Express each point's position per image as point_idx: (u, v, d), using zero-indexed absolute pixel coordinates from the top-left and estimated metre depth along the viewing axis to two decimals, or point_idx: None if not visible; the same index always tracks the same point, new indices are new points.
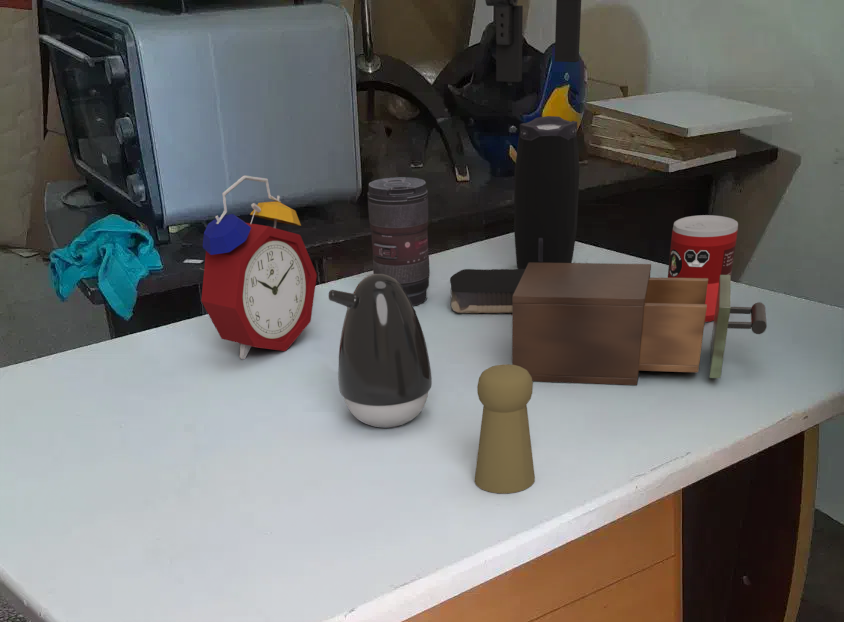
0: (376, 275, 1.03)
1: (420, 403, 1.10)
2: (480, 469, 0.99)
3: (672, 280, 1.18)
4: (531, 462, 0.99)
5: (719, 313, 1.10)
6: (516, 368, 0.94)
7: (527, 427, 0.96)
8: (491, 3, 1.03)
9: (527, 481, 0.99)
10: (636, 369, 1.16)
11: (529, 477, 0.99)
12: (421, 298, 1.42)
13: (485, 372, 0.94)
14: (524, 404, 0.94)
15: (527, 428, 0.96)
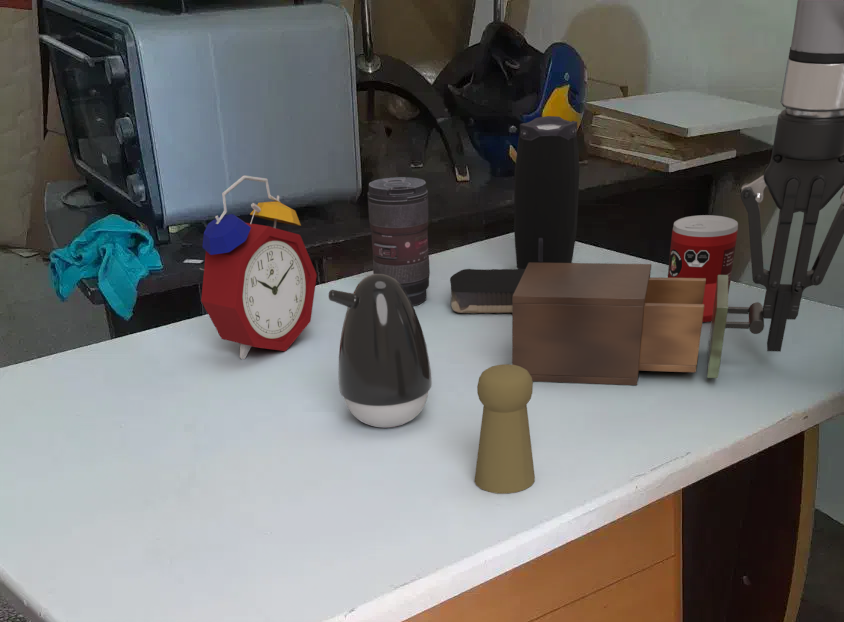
0: (376, 275, 1.03)
1: (420, 403, 1.10)
2: (480, 469, 0.99)
3: (670, 280, 1.18)
4: (531, 462, 0.99)
5: (717, 313, 1.10)
6: (516, 368, 0.94)
7: (527, 427, 0.96)
8: None
9: (527, 481, 0.99)
10: (636, 369, 1.16)
11: (529, 477, 0.99)
12: (421, 298, 1.42)
13: (485, 372, 0.94)
14: (524, 404, 0.94)
15: (527, 428, 0.96)
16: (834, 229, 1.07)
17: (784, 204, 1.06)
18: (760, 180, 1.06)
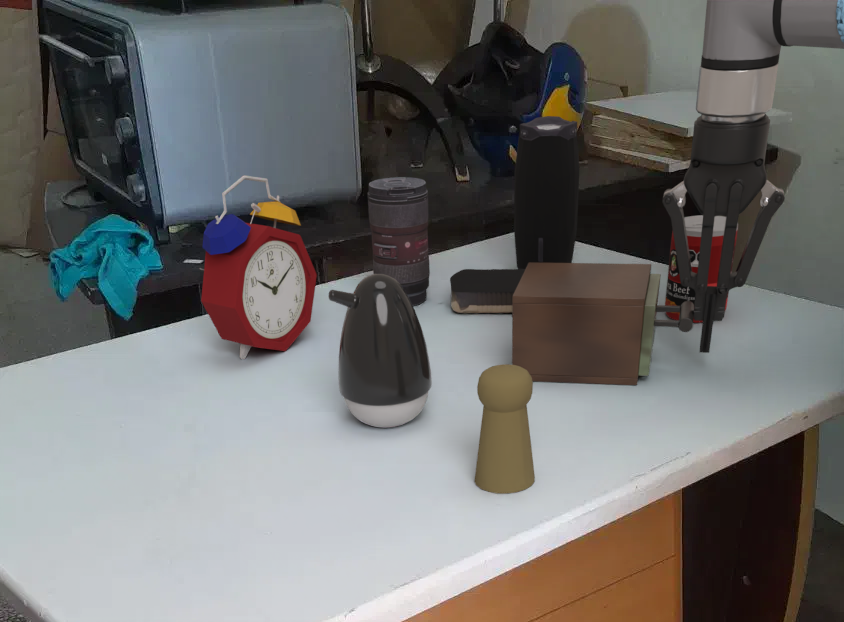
0: (376, 275, 1.03)
1: (420, 403, 1.10)
2: (480, 469, 0.99)
3: None
4: (531, 462, 0.99)
5: (644, 311, 1.12)
6: (516, 368, 0.94)
7: (527, 427, 0.96)
8: None
9: (527, 481, 0.99)
10: (636, 369, 1.16)
11: (529, 477, 0.99)
12: (421, 298, 1.42)
13: (485, 372, 0.94)
14: (524, 404, 0.94)
15: (527, 428, 0.96)
16: (754, 232, 1.09)
17: (705, 208, 1.08)
18: (681, 185, 1.08)
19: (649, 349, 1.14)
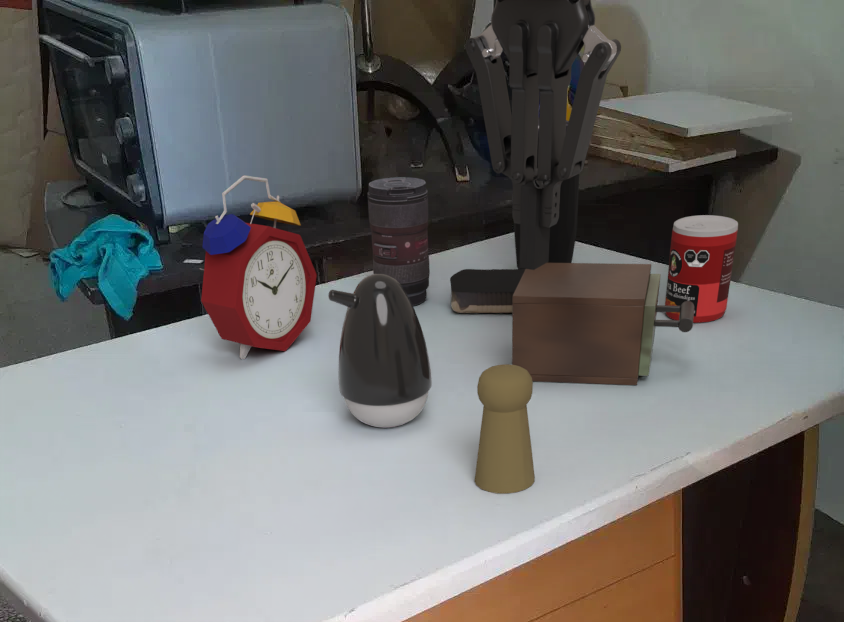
0: (376, 275, 1.03)
1: (420, 403, 1.10)
2: (480, 469, 0.99)
3: None
4: (531, 462, 0.99)
5: (644, 311, 1.12)
6: (516, 368, 0.94)
7: (527, 427, 0.96)
8: None
9: (527, 481, 0.99)
10: (636, 369, 1.16)
11: (529, 477, 0.99)
12: (421, 298, 1.42)
13: (485, 372, 0.94)
14: (524, 404, 0.94)
15: (527, 428, 0.96)
16: (575, 100, 0.80)
17: (511, 60, 0.80)
18: (489, 27, 0.81)
19: (649, 349, 1.14)
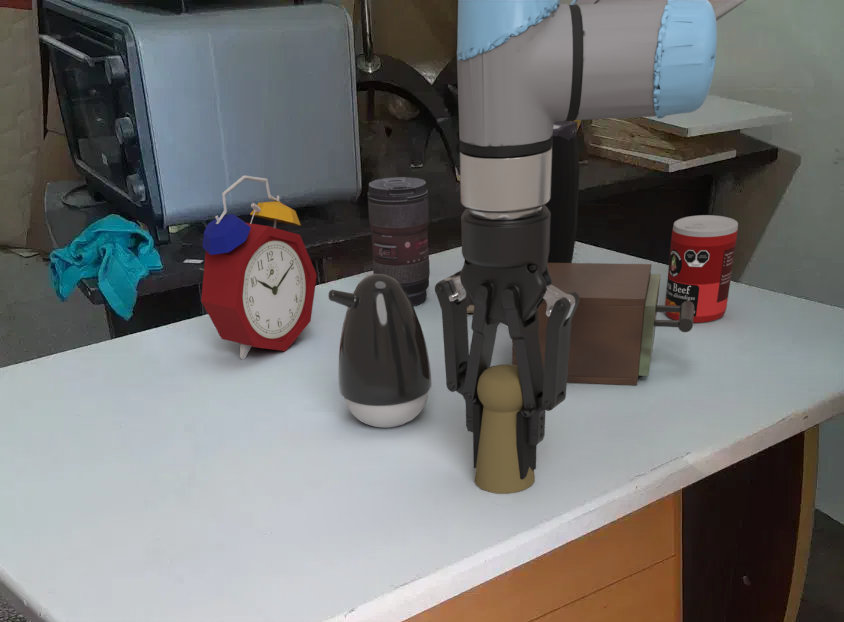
0: (376, 275, 1.03)
1: (420, 403, 1.10)
2: (480, 469, 0.99)
3: None
4: None
5: (644, 311, 1.12)
6: (516, 368, 0.94)
7: None
8: None
9: (527, 481, 0.99)
10: (636, 369, 1.16)
11: (529, 477, 0.99)
12: (421, 298, 1.42)
13: (485, 372, 0.94)
14: None
15: None
16: (546, 346, 0.89)
17: (475, 310, 0.90)
18: (458, 278, 0.90)
19: (649, 349, 1.14)
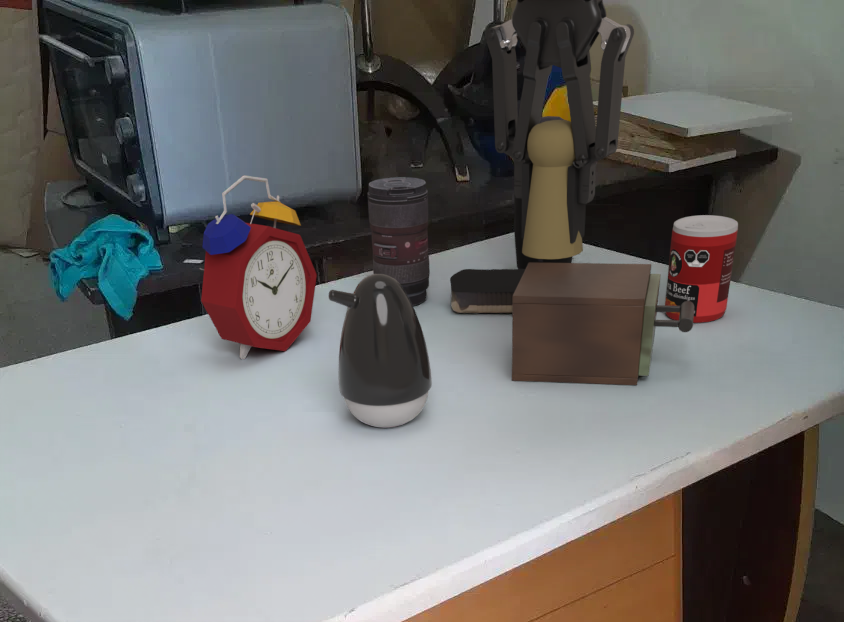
0: (376, 275, 1.03)
1: (420, 403, 1.10)
2: (529, 235, 0.98)
3: None
4: None
5: (644, 311, 1.12)
6: (566, 121, 0.93)
7: None
8: None
9: (576, 247, 0.98)
10: (636, 369, 1.16)
11: (578, 243, 0.98)
12: (421, 298, 1.42)
13: (535, 126, 0.93)
14: (575, 158, 0.94)
15: None
16: (600, 85, 0.88)
17: (527, 52, 0.89)
18: (509, 21, 0.90)
19: (649, 349, 1.14)
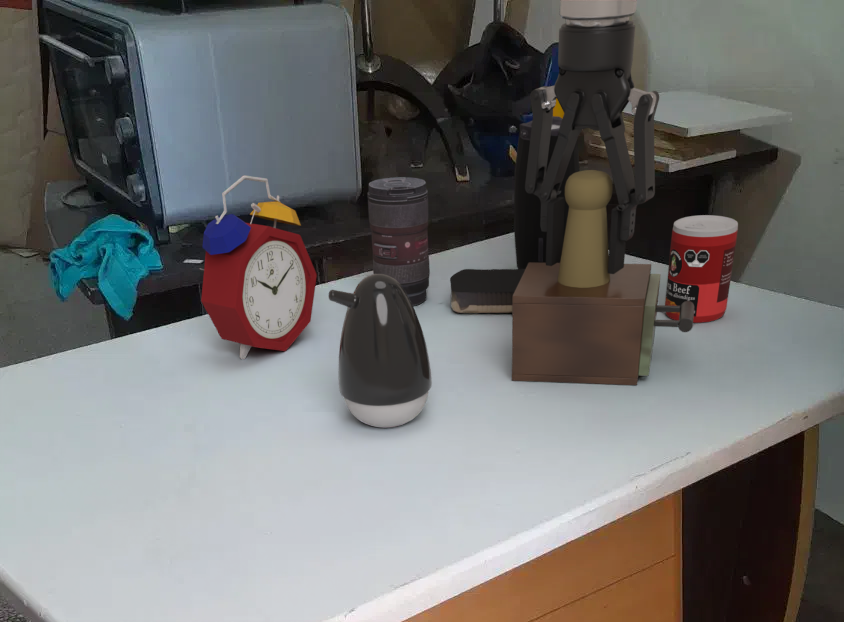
0: (376, 275, 1.03)
1: (420, 403, 1.10)
2: (564, 267, 1.14)
3: None
4: None
5: (644, 311, 1.12)
6: (599, 171, 1.09)
7: (606, 226, 1.12)
8: None
9: (604, 277, 1.15)
10: (636, 369, 1.16)
11: (606, 274, 1.15)
12: (421, 298, 1.42)
13: (572, 175, 1.10)
14: (605, 203, 1.10)
15: (606, 227, 1.12)
16: (634, 143, 1.04)
17: (564, 115, 1.06)
18: (551, 87, 1.06)
19: (649, 349, 1.14)
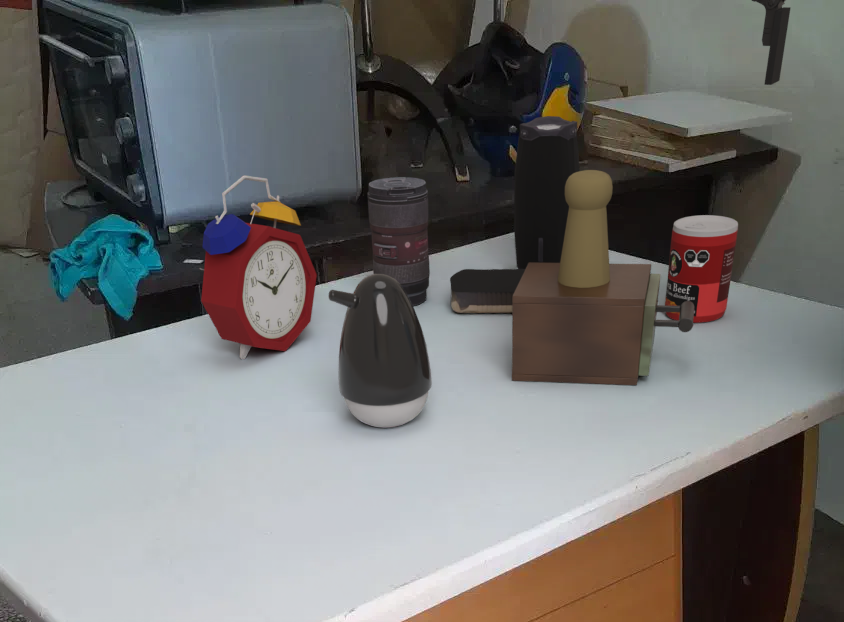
0: (376, 275, 1.03)
1: (420, 403, 1.10)
2: (564, 267, 1.14)
3: None
4: (608, 261, 1.14)
5: (644, 311, 1.12)
6: (599, 171, 1.09)
7: (606, 226, 1.12)
8: None
9: (604, 277, 1.15)
10: (636, 369, 1.16)
11: (606, 274, 1.15)
12: (421, 298, 1.42)
13: (572, 175, 1.10)
14: (605, 203, 1.10)
15: (606, 227, 1.12)
16: None
17: None
18: None
19: (649, 349, 1.14)
